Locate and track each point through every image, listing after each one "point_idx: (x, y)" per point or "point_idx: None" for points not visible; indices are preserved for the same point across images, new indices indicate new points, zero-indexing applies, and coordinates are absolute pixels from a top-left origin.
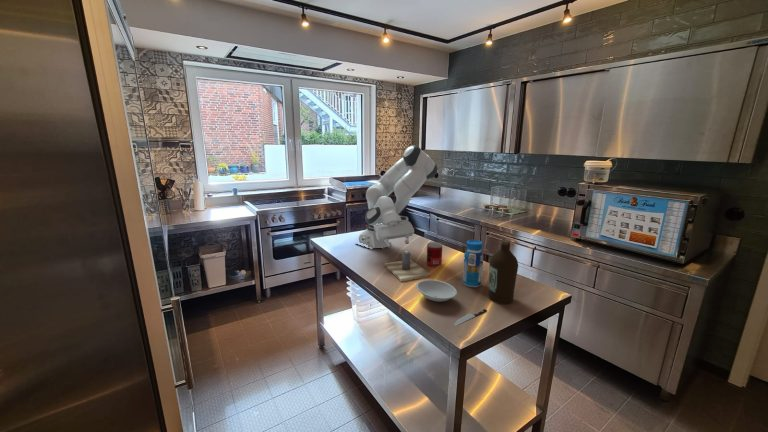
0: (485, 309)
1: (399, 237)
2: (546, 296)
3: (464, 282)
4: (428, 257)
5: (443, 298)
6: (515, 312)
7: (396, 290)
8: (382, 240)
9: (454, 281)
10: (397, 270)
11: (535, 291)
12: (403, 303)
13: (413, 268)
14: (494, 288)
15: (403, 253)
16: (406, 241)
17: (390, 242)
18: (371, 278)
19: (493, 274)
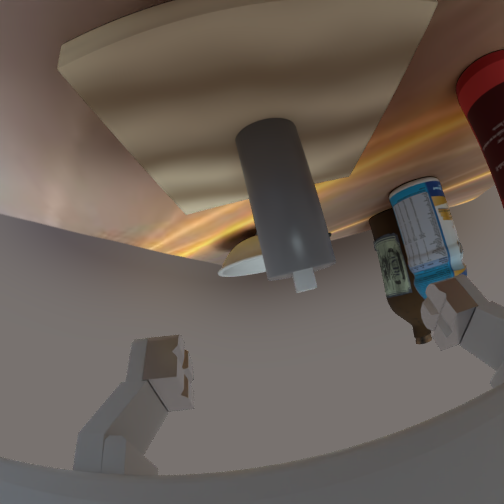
0: (329, 236)
1: (453, 413)
2: (452, 203)
3: (392, 200)
4: (484, 136)
5: (260, 272)
6: (366, 228)
7: (154, 230)
8: (36, 465)
9: (389, 180)
10: (185, 164)
11: (460, 197)
12: (169, 251)
13: (316, 139)
14: (377, 250)
15: (277, 276)
16: (432, 329)
17: (185, 408)
18: (22, 206)
19: (384, 281)
